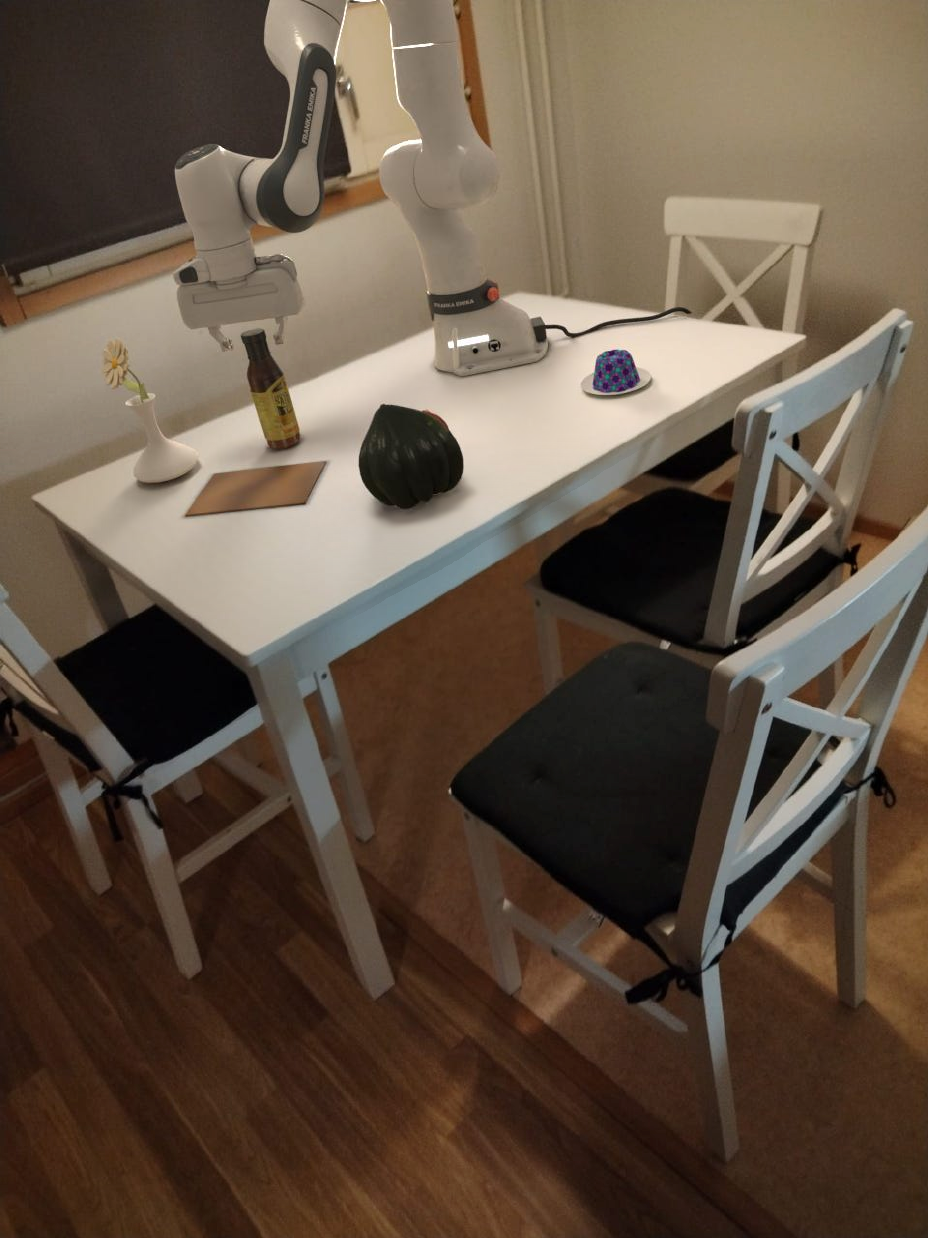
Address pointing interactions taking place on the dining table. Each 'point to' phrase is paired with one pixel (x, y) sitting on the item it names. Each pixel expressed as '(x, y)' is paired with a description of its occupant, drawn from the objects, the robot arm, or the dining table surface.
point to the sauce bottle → (270, 392)
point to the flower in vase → (147, 423)
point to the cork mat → (257, 488)
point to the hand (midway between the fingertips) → (254, 346)
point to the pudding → (615, 374)
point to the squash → (408, 457)
